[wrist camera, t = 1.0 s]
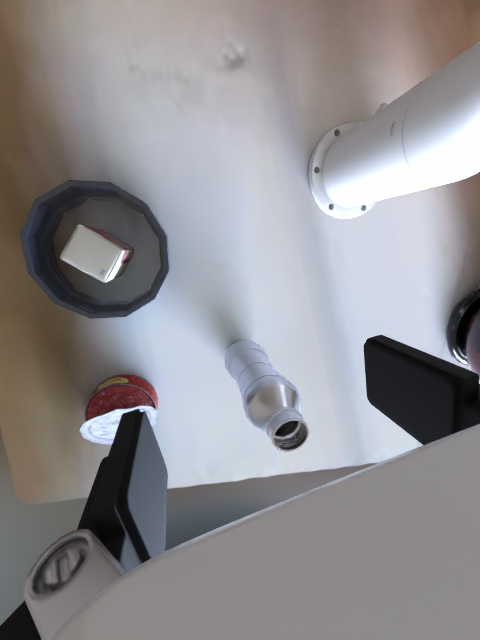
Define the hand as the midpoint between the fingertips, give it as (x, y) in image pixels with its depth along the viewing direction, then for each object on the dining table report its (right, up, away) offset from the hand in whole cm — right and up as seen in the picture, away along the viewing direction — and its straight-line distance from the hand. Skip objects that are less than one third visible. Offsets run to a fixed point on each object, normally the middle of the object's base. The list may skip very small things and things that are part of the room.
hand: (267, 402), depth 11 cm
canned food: (-19, -10, +31) cm, 37 cm away
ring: (-19, +12, +25) cm, 33 cm away
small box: (-19, +12, +25) cm, 33 cm away
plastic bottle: (-1, -2, +33) cm, 33 cm away
